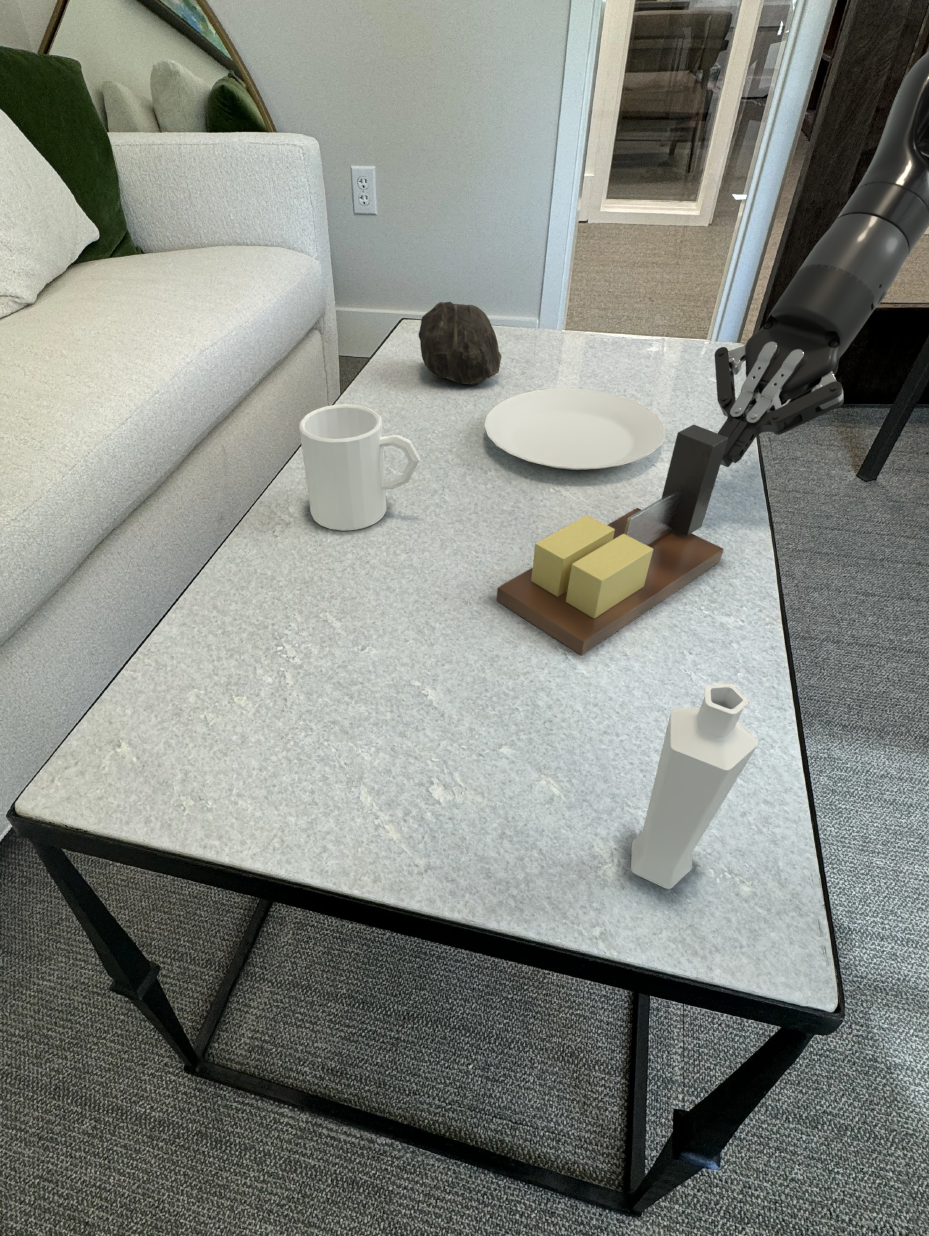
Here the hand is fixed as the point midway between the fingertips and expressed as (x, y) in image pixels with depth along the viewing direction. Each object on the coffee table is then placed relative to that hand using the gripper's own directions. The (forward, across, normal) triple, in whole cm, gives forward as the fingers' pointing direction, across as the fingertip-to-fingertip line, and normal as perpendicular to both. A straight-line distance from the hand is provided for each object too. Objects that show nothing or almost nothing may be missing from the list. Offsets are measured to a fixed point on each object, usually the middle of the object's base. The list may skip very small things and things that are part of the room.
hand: (719, 461), depth 69 cm
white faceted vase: (+30, +21, -20) cm, 42 cm away
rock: (0, -45, +11) cm, 46 cm away
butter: (+16, 0, -9) cm, 19 cm away
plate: (+2, -21, +8) cm, 22 cm away
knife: (+9, 0, -2) cm, 10 cm away
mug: (+22, -25, -12) cm, 35 cm away
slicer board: (+15, 0, -5) cm, 16 cm away
